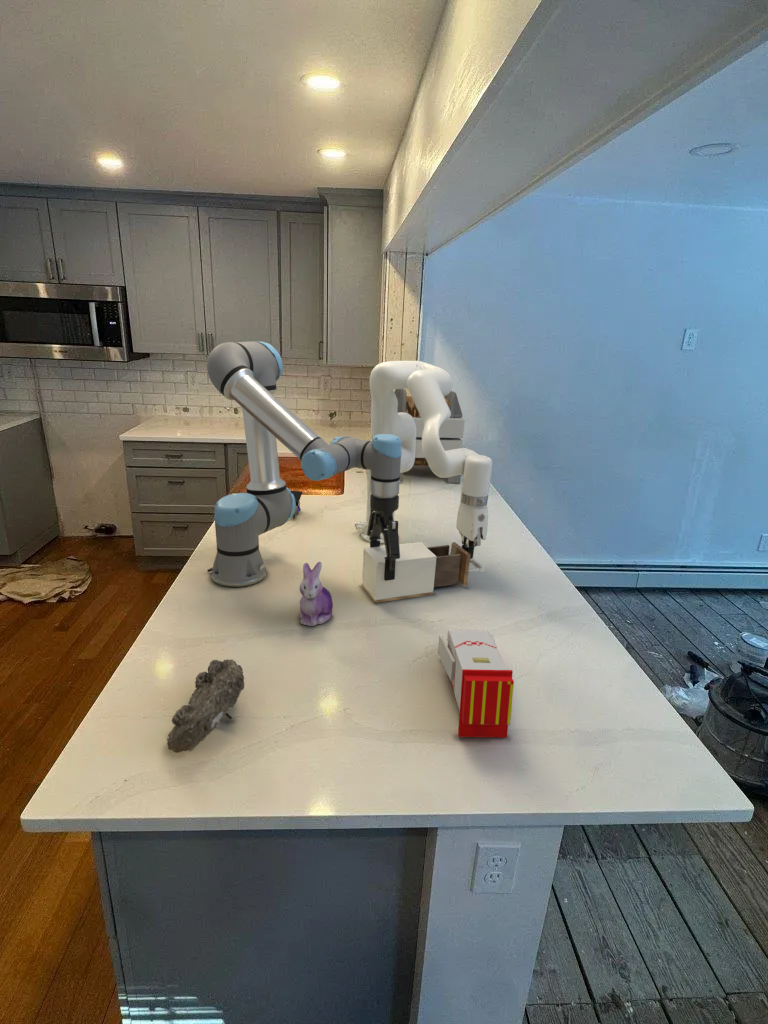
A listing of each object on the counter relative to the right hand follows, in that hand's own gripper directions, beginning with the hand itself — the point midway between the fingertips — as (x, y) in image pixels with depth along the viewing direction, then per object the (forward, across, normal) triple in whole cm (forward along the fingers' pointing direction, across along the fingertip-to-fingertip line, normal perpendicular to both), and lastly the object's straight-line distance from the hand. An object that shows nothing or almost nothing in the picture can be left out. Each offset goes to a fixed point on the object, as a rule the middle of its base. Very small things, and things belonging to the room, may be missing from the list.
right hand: (466, 557), depth 166 cm
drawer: (+6, -1, +7) cm, 10 cm away
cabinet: (+7, -1, +22) cm, 23 cm away
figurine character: (+9, +67, +36) cm, 77 cm away
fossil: (+7, -38, +76) cm, 85 cm away
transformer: (+10, +108, -36) cm, 114 cm away
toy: (+6, -47, +25) cm, 54 cm away
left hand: (0, 0, +27) cm, 27 cm away
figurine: (+7, -8, +48) cm, 49 cm away
